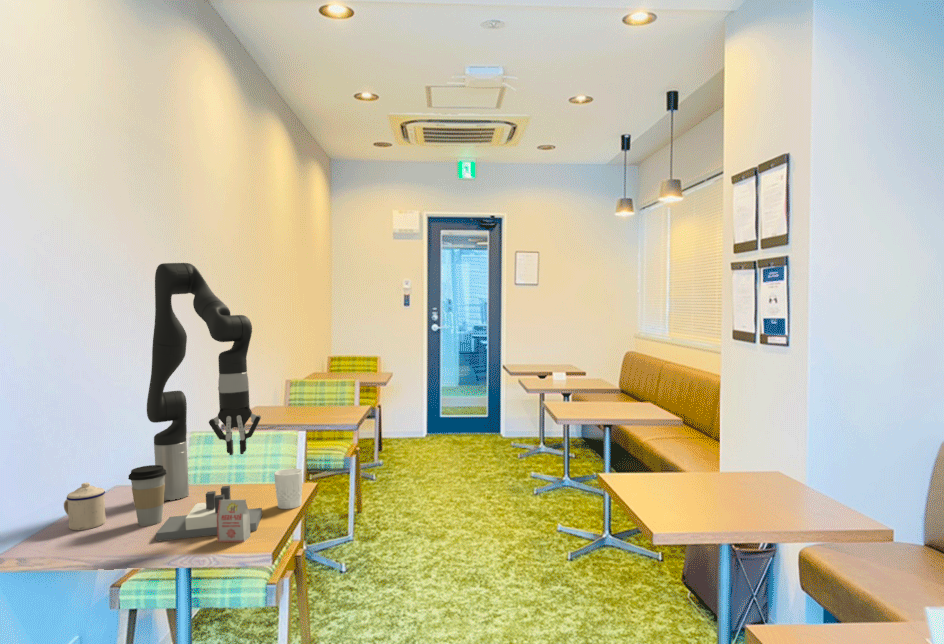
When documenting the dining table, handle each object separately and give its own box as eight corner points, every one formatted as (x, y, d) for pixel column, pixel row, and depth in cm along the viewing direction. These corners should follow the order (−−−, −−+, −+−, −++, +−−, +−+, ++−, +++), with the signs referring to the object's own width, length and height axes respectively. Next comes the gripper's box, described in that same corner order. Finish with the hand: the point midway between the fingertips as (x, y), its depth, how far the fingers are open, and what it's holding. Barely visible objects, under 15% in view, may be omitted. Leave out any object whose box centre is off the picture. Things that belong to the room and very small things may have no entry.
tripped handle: (208, 506, 168) (207, 491, 168) (216, 505, 168) (215, 490, 168) (206, 509, 165) (205, 494, 165) (214, 508, 166) (213, 493, 166)
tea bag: (224, 536, 159) (223, 497, 159) (250, 536, 159) (248, 497, 159) (217, 542, 156) (215, 502, 155) (243, 542, 155) (242, 501, 155)
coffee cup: (176, 517, 176) (174, 464, 176) (150, 529, 167) (148, 473, 167) (148, 516, 179) (146, 463, 178) (122, 527, 170) (119, 472, 169)
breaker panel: (170, 524, 171) (168, 490, 171) (262, 514, 176) (260, 481, 176) (156, 541, 158) (154, 504, 158) (256, 530, 163) (254, 495, 163)
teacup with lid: (114, 520, 176) (112, 479, 176) (87, 531, 167) (84, 488, 167) (79, 518, 179) (77, 478, 179) (51, 529, 170) (49, 486, 170)
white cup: (270, 509, 181) (268, 474, 181) (286, 500, 189) (284, 467, 188) (293, 510, 179) (291, 475, 178) (308, 502, 186) (307, 469, 186)
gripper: (262, 386, 173) (265, 449, 173) (209, 389, 170) (212, 453, 170) (259, 389, 166) (262, 455, 166) (203, 393, 163) (206, 459, 163)
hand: (236, 453), depth 168 cm, fingers closed
